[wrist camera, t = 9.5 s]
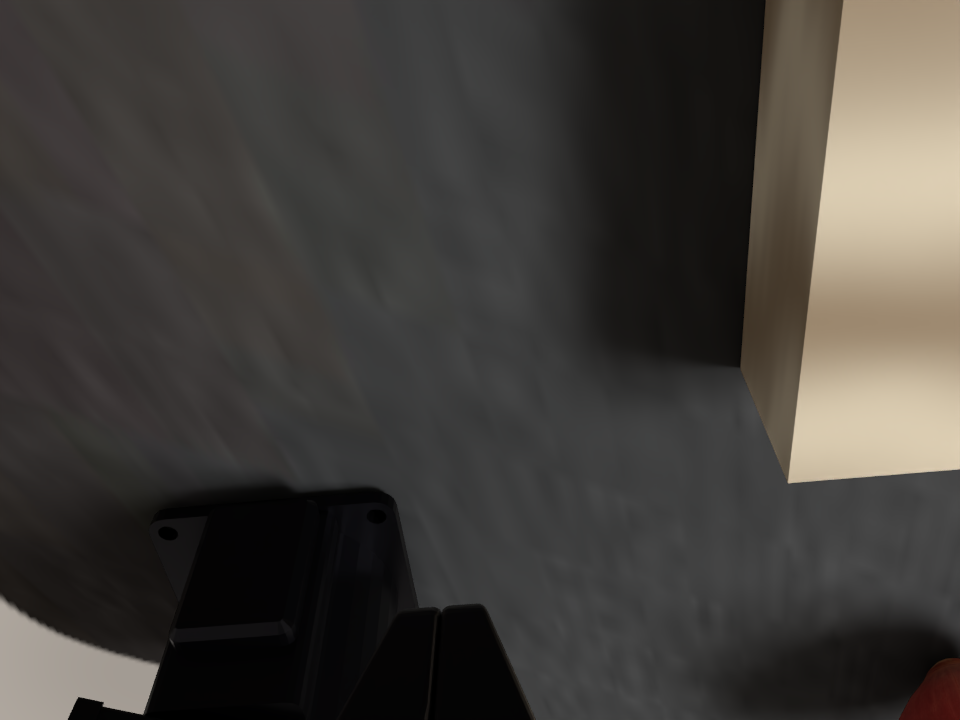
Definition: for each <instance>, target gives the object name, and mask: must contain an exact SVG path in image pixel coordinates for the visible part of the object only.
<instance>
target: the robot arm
mask: <svg viewBox="0 0 960 720" xmlns="http://www.w3.org/2000/svg"><path fill="white" fill-rule="evenodd" d="M374 509H376V510H381V511H383V512H381V513H375V512H373V511H371V510H374ZM165 526H166V527H165ZM167 527H172V528H174V529H175V530H174V529H169V528H167ZM149 535H150V537H151V540H152V542H153V544H154V547H155V549H156V551H157V554H158V556H159V558H160V560H161V563H162V565H163V567H164V570H165V572H166V574H167V577H168V579H169V581H170V584H171V586H172V588H173V590H174V593H175V595H176V597H177V600H178V602H179V604H178V607H177V610H176V613H175V616H174V619H173V622H172V625H171V628H170V631H169V639H168V642H167V645H166V648H165V651H164V654H163V657H162V660H161V663H160V666H159V669H158V672H157V675H156V678H155V681H154V684H153V687H152V690H151V693H150V696H149V699H148V702H147V705H146V708H145V711H144V714H143V715H141V714H136V713H131V712H126V711H121V710H116V709H111V708H107V707H103V704H104V702H99V701H95V700H90V699H85V698H80V697H78V699H77V701H76V703H75V705H74V707H73V710H72V712H71V713H70V716H69V718H68V720H536V719H535V717H534V714H533V712H532V710H531V708H530V705H529V703H528V701H527V699H526V696H525V694H524V692H523V690H522V687H521V685H520V683H519V681H518V678H517V676H516V674H515V672H514V669H513V667H512V665H511V663H510V660H509V658H508V656H507V654H506V651H505V649H504V647H503V645H502V643H501V640H500V638H499V636H498V634H497V631H496V629H495V627H494V625H493V622H492V620H491V618H490V616H489V613H488V611H487V609H486V608H485V607H484V606H483V605H481V604H466V605H453V606H447V607H446V608H444V609H443V611H442V612H441V611H440V609H438V608H435V607H426V608H419V606H418V602H417V597H416V592H415V588H414V583H413V578H412V574H411V569H410V564H409V559H408V555H407V550H406V545H405V541H404V536H403V531H402V527H401V522H400V517H399V513H398V508H397V504H396V502H395V500H394V498H392V497H391V496H390V495H388V494H386V493H383V492H365V493H353V494H341V495H329V496H317V497H304V498H292V499H280V500H268V501H256V502H244V503H232V504H220V505H208V506H195V507H183V508H171V509H164V510H160V511H159V512H157V513H156V514H155V516H154V518H153V520H152V523H151V525H150V528H149Z"/></svg>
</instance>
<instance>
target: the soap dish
mask: <svg viewBox="0 0 960 720" xmlns="http://www.w3.org/2000/svg"><path fill="white" fill-rule="evenodd" d="M740 369H741V372H742V374H743V376H744V379H745V381H746V384H747V386H748V388H749V391H750V393H751V396H752V398H753V401H754V403H755V405H756V408H757V410H758V413H759V415H760V417H761V420H762V422H763V425H764V427H765V429H766V432H767V434H768V437H769V439H770V441H771V444H772V446H773V449H774V451H775V453H776V456H777V458H778V461H779V463H780V465H781V468H782V470H783V473H784V475H785V477H786V480H787V482H788V483H796V482H808V481H820V480H833V479H845V478H857V477H869V476H882V475H894V474H906V473H919V472H931V471H943V470H956V469H960V0H766V6H765V20H764V35H763V49H762V64H761V78H760V93H759V107H758V121H757V136H756V150H755V165H754V179H753V194H752V208H751V222H750V237H749V251H748V266H747V280H746V295H745V309H744V324H743V338H742V352H741V367H740Z"/></svg>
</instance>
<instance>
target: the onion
mask: <svg viewBox="0 0 960 720" xmlns="http://www.w3.org/2000/svg"><path fill="white" fill-rule="evenodd" d="M899 720H960V658H947V659H944V660H941V661H939V662H937V663H936V664H935V665H934V666H933V667H932V668H930V670H929V671H928V672H927V675H926V677H925V679H924V681H923V682H922V684H921V685H920V686H919V687H918V689H917V690H916V691H915V692H914V694H913V695H912V696H911V698H910V700H909V701H908V703H907V705H906V707H905V709H904V711H903V712H902V714H901V716H900V718H899Z"/></svg>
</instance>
